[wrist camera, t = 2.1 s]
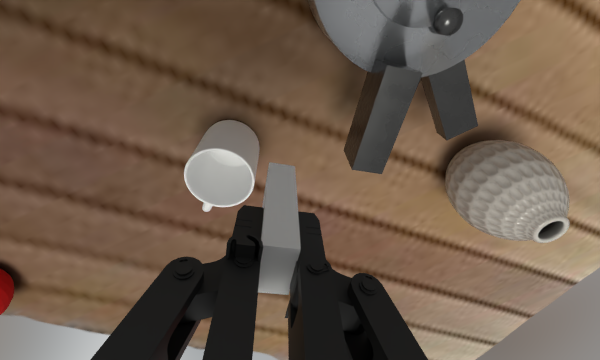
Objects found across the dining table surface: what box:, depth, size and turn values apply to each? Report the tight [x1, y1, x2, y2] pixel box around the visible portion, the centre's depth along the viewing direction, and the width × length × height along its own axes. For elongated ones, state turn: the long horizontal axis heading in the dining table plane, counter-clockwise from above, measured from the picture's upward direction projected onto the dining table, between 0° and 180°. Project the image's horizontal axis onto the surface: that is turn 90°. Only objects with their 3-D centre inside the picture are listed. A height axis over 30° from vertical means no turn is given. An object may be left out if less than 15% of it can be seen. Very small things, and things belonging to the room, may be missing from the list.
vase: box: [445, 140, 570, 243], centre depth 39 cm, size 13×13×17 cm
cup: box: [184, 120, 260, 212], centre depth 38 cm, size 8×12×10 cm
